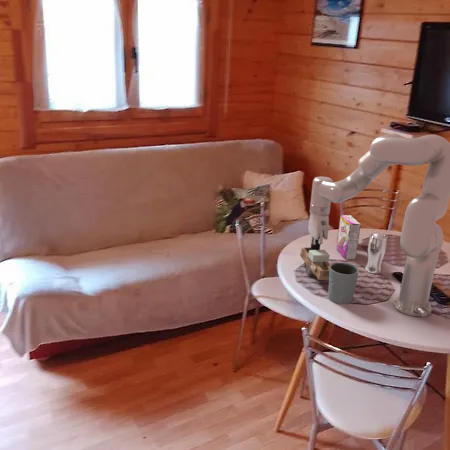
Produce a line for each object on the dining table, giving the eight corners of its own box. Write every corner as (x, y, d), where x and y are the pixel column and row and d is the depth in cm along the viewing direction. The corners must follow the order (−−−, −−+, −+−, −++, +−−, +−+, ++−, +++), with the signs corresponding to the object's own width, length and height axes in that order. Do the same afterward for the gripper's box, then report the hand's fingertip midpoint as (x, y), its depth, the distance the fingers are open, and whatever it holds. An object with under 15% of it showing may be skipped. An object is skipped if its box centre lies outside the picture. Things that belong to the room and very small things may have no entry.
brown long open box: (334, 286, 186) (336, 270, 184) (316, 287, 185) (318, 271, 183) (314, 261, 206) (315, 247, 204) (298, 262, 205) (299, 247, 203)
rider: (327, 266, 191) (329, 254, 189) (312, 267, 190) (313, 255, 188) (323, 261, 196) (324, 249, 194) (307, 261, 195) (309, 250, 193)
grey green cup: (339, 308, 171) (344, 276, 167) (319, 295, 179) (323, 265, 175) (360, 301, 176) (365, 270, 172) (340, 289, 184) (344, 259, 180)
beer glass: (382, 275, 197) (388, 240, 192) (364, 272, 199) (370, 238, 193) (381, 267, 204) (386, 234, 199) (363, 265, 205) (369, 232, 200)
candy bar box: (335, 249, 220) (340, 214, 214) (346, 249, 221) (351, 214, 215) (345, 260, 209) (350, 223, 204) (356, 260, 210) (361, 223, 204)
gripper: (336, 215, 183) (330, 260, 190) (322, 202, 197) (317, 245, 204) (317, 215, 182) (311, 261, 188) (304, 203, 196) (299, 245, 202)
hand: (314, 252), depth 196 cm, fingers closed
